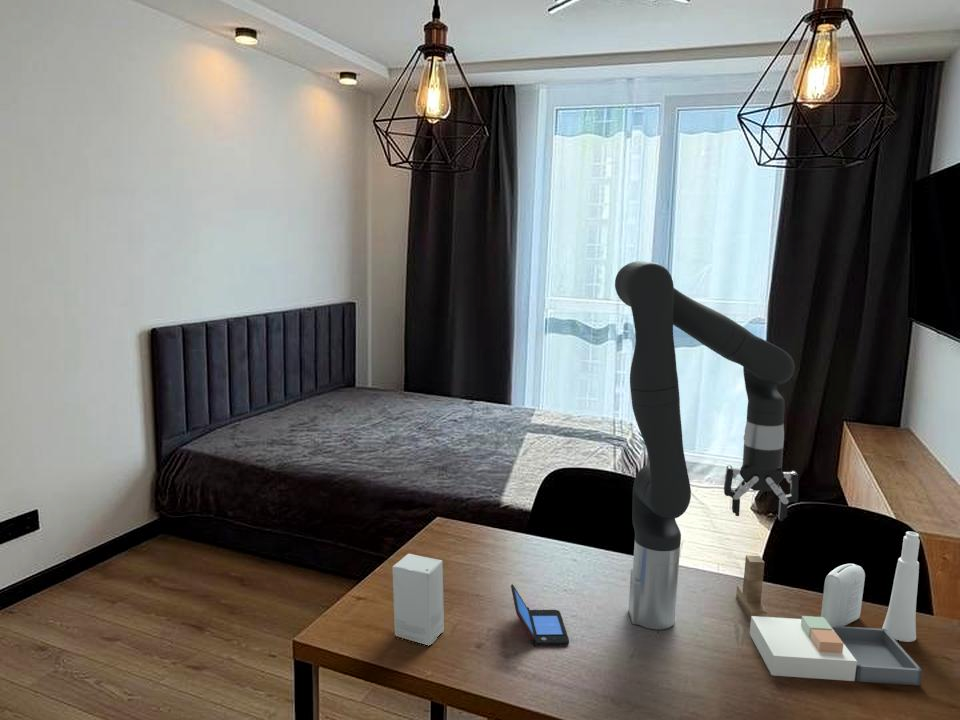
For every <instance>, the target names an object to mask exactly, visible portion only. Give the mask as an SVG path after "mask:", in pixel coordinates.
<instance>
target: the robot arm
mask: <svg viewBox="0 0 960 720" xmlns="http://www.w3.org/2000/svg"><path fill="white" fill-rule="evenodd" d="M674 285H675V284H674V280H673V277H672V275H671V273H670V272H669V270H668V269H667V268H666V267H665V266H663V265H662V264H660V263H657V262H651V261H642V260H637V261H636V260H635V261H632V262H629V263H627V264H625V265H624V266H622V267H620V269H619V271H618V272H617V274H616V276H615V280H614V288H615V292H616V294H617V296H618V298H619V299H620V301H622V302H623V304H625V305H627V306H628V307H630V308H631V313H632V319H633V325H634V334H635V335H634V337H635V344H634V345H635V346H634V350H633V351H634V352H633V356H632V360H631V365H630V371H629V386H630V389H629V390H630V397H631V406H632V412H633V415H634V419H635V422H636V425H637V427H638V429H639V432H640V434H641V438H642V440H643V442H644V445H645V448H646V452H647V456H648V457H647V458H648V463H647V464H646V465H643V467H641V468H640V469H639V471H638V472H637V474H636V475H635V478H634V481H633V487H632V509H631V510H632V512H631V513H632V514H631V515H632V516H631V517H632V518H631V519H632V526H633V528H634V547H633V548H634V549H633V560H632V561H633V563H632V568H631V569H630V580H629V597H628V612H629V613H628V614H629V616H630V621H631V623H632V624H633V625H638V626H641V627H643V628H646V629H651V630H666V629H669V628H671V627H672V626H674V625H675V621H676V614H677V613H676V611H677V610H676V609H677V608H676V607H677V598H678V597H677V595H678V580H679V567H680V556H681V555H680V554H681V543H682V542H681V540H682V534H681V530H680V528H679V526H678V524H677V520H676V519H678V518H680V517H682V516H683V514H684V513H686V511H687V510H688V507H689V506H690V503H691V499H692V498H691V497H692V488H691V483H690V478H689V472H688V467H687V463H686V456H685V453H684V451H685V450H684V442H683V427H682V426H683V425H682V418H681V403H680V402H681V401H680V399H681V398H680V389H679V387H680V386H679V377H678V369H677V357H676V349H675V348H676V347H675V339H674V326H675V327H676V328H678V329H680V330H681V331H682V332H684V333H685V334H687V335H689V336H690V337H691V338H693V339H694V340H696V341H698V342H699V343H700V344H702V345H703V346H705V347H706V348H708V349H710V350H711V351H713V352H714V353H716V354H718V355H719V356H721V357H722V358H724V359H726V360H728V361H731V362H732V363H735V364H737V365H740V366H741V367H743V369H742V370H743V379H744V386H745V392H746V396H747V409H746V422H745V427H744V428H745V429H744V436H743V453H742V454H743V455H742V466H741V467H740V468H738V467H733V466H732V465H727V466H726V469H725V477H724V484H723V485H724V486H723V491H724V496H725V497H730V498H732V499H731V500H732V501H731V511H732V513H733V514H735V517H740V507H741V497H742V496H743V495H744V494H746V493H747V492H749V490H750V489H751V490H752V491H755V492H757V491H758V492H759V491H762V492H768V493H769V492H771V491H773V493H774V494H775V495H776V496H777V497H778V498H779V501H778V514H777V515H778V516H777V517H778V521H784V519H786V518H787V516H788V506H789V504H790V503H797V502H798V501H799V475H798V473H797V471H796V470H790V471H783V469H782V467H783V457H784V455H783V454H784V441H785V427H784V421H785V408H786V405H785V404H786V402H785V399H784V397H783V396H782V395H781V394H780V392H779V391H778V389H777V387H778V386H777V385H783V384H785V383H787V382H788V381H789V380H790V379H791V378H792V377H793V376H794V374H795V371H796V366H795V361H794V360H793V359H794V358H792V355H790V354H789V353H788V352H787V351H786V350H784V349H782V348H781V347H779V346H777V345H775V344H773V343H771V342H769V341H767V340H765V339H763V338H762V337H759V336H757V335H755V334H754V333H752V332H750V331H749V330H748V329H746V327H744V326H742V325H741V324H739V323H738V322H736V321H734V320H733V319H731V318H730V317H727V316H726V315H724V314H722V313H721V312H719V311H716V310H715V309H712V308H710V307H709V306H707V305H704V304H703V303H700V302H698V301H697V300H694V299H693V298H691V297H689V296H688V295H686V294H684V293H683V292H681V291H680V290H677V289H676V288H675V287H674ZM738 475H740V477H741V478H742V479H743V480H742V481H741V482H740V483H739V484H738V485H737V486H736V488H735V489H732V486H733V485H732V483H733V479H736V478H737V476H738ZM784 479H786V481H787V483H788V484H789V485H790V486H789V489H790V490H789V494H786V493H785V492H784V491H783V489H782V487H781V486H780V485H779V484H780V483H781V482H782V481H783V480H784Z"/></svg>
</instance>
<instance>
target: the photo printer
mask: <svg viewBox="0 0 960 720" xmlns="http://www.w3.org/2000/svg"><path fill="white" fill-rule="evenodd" d="M865 578H866V573H865V570H864V569H863V567H862V566H860V565H858V564H855V563H846V564H845V563H844V564H842V565H839V566H837V567H835V568H834V569H833V570H831V571H830V572H829V573H828V574H827V575H826V577H825V579H824V585H823V595H822V602H821V612H820V617H824V618H825V619H826V621H827V622H828V623H829V625H830V626H845V627H846V626H847V625H849V624H851V623H853V622H855V621H857V620H858V619H859V618H860V616H861V611H862V603H863V594H864V587H865V580H866V579H865Z"/></svg>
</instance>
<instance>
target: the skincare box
mask: <svg viewBox="0 0 960 720" xmlns="http://www.w3.org/2000/svg"><path fill="white" fill-rule="evenodd" d="M443 572H444V571H443V560H441V559H437V558H432V557H426V556H423V555H422V556H421V555H417V554H413V553H407V554H406V555H404V556H403V557H402V558H401V559H400V560H398V561H397V562H396V563H395V564H393V566H392V590H393V593H392V594H393V615H394V616H393V618H394V619H393V620H394V622H393V623H394V636H395V635H396V636H399V637H402V638H405V639H409V640H412V641H415V642H418V643H422V644H425V645H428V646H429V645H431V644H434V643H435V641H437V640H438V638H439V637H440V636H441V635H442V634H443V632H444V631H445V625H444V624H445V622H444V621H445V620H444V619H445V618H444V617H445V615H444V614H445V613H444V577H443V576H444V574H443ZM441 633H442V634H441ZM440 634H441V635H440ZM439 635H440V636H439ZM438 636H439V637H438ZM437 637H438V638H437ZM425 645H424V646H425ZM428 646H427V647H428Z"/></svg>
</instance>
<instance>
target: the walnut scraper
mask: <svg viewBox="0 0 960 720" xmlns="http://www.w3.org/2000/svg"><path fill="white" fill-rule="evenodd" d="M764 572H765V561H764V560H763V558H762V557H761V555H748V554H747V555H745V561H744V572H743V582H742V584H737V585H736V592H735V593H736V596H735V597H736V599H737V601H738V603H739V605H740V606H741V609H742V610H743V612H744V613H745V616H746V618H747V619H748V621H749V623H750V624H751V616H759V617H767V615H768V611H767V610H766V607H765V606H764V604H763V603H762V592H763V582H764Z"/></svg>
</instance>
